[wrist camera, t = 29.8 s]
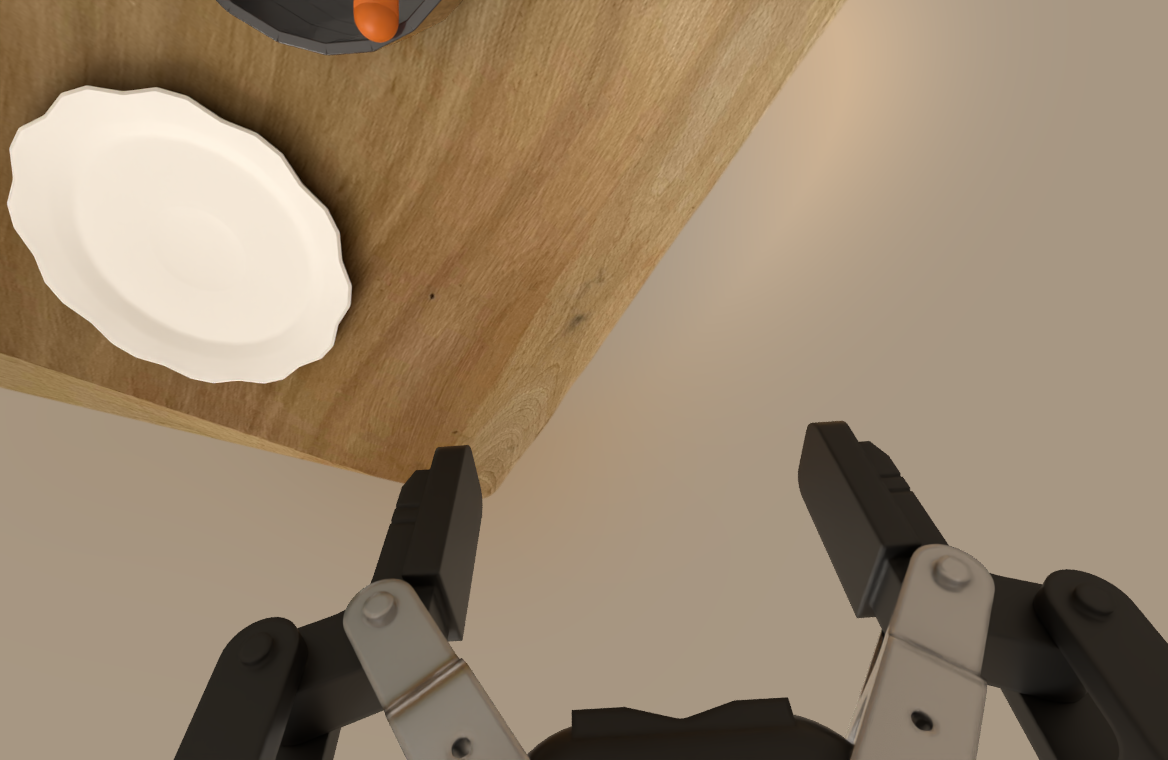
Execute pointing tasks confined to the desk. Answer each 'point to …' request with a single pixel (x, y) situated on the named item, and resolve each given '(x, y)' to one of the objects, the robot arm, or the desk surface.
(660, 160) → the desk surface
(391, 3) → the carrot
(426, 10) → the pot
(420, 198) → the desk surface
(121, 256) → the plate
